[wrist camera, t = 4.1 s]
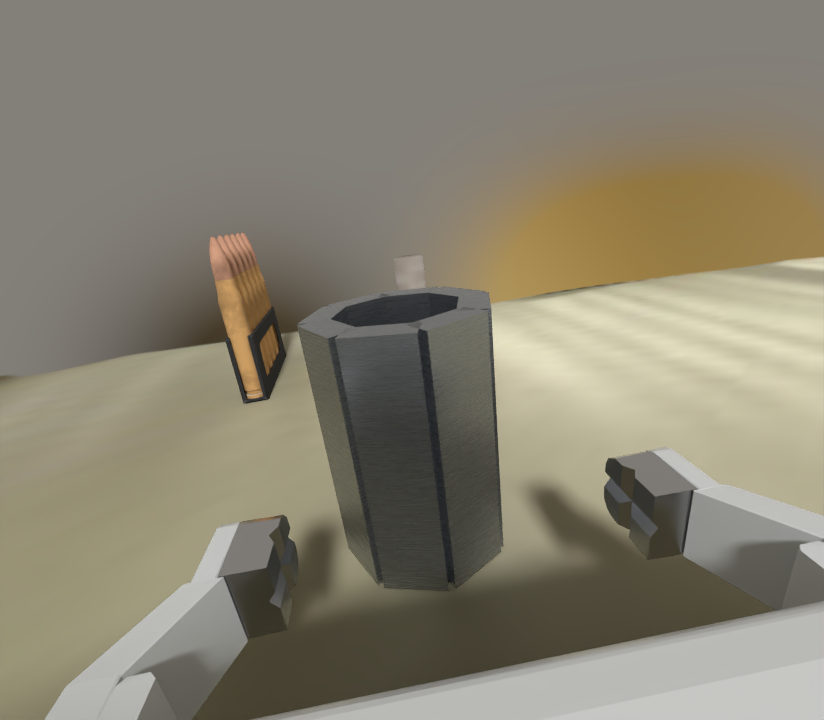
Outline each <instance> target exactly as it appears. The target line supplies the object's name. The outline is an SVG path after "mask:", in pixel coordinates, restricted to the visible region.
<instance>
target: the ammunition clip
mask: <svg viewBox="0 0 824 720" xmlns="http://www.w3.org/2000/svg"><path fill="white" fill-rule="evenodd" d="M209 248H210V260H211V265H212V271H213V274H214V278H215V283H216V288H217V292H218V302H219V307H220V310H221V313H222V317H223V320H224V323H225V327H226V331H227V334H228V337H227V338H226V344H227V348H228V351H229V354H230V358H231V361H232V365H233V368H234V372H235V375H236V379H237V382H238V385H239V389H240V392H241V396H242V399H243V403H249V402H255V401H260V400H266V399H269V398H270V395H271V392H272V390H273V387H274V385H275V382H276V380H277V377H278V375H279V372H280V370H281V367H282V365H283V362H284V359H285V357H286V353H285V349H284V346H283V342H282V338H281V334H280V330H279V327H278V323H277V319H276V315H275V311H274V307H271V304H270V301H269V297H268V293H267V289H266V285H265V281H264V279H263V277H262V275H261V272H260V269H259V266H258V264H257V260H256V256H255V253H254V251H253V248H252V246H251V244H250V242H249V240H248V238H247V237H246V235H245V234H244V233H241V235H240V234H239V233H237V234H236V237H235V235H234V234H231V236H230V237H229V236H228V235H225V236H224V238H223V237H222V236H221V235H219V236H218V240H216V238H215V237H213V236H212V237H211V238H210V245H209Z"/></svg>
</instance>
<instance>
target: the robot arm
mask: <svg viewBox="0 0 824 720" xmlns="http://www.w3.org/2000/svg"><path fill="white" fill-rule="evenodd" d="M605 472H606V473H607V474H608V476H609V477H610V479H609V481H608V482H607V484H606V485H605V486H604V499H605V502H606V506H607V509H608V511H609V512H610V514H611V516H612V517H613V519H614V520H615V521H616V522H617V524H619V525H621V526H623V527H625V528H627V529H629V530H630V532H629V538H630V539H631V541H632V542H633V543H634V544H635V545H636V547H637V548H638V549H639V550H640V551H641V553H642V554H643V555H644V556H645V557H646V559H647V560H650V559H657V558H663V557H669V556H675V555H681V554H683V556H684V557H686V558H687V559H689V560H691V561H692V562H694V563H696V564H697V565H699V566H701V567H703V568H704V569H706V570H708V571H709V572H711V573H713V574H715V575H716V576H718V577H720V578H721V579H723V580H725V581H726V582H728V583H730V584H732V585H733V586H735V587H737V588H738V589H740V590H742V591H743V592H745V593H747V594H749V595H750V596H752V597H754V598H755V599H757V600H759V601H761V602H762V603H764V604H766V605H767V606H769V607H771V608H772V609H774V610H776V611H772V612H767V613H762V614H757V615H752V616H748V617H743V618H738V619H733V620H728V621H723V622H719V623H714V624H709V625H704V626H699V627H694V628H690V629H685V630H680V631H675V632H670V633H666V634H661V635H656V636H651V637H646V638H641V639H637V640H632V641H627V642H622V643H617V644H612V645H608V646H603V647H598V648H593V649H588V650H584V651H579V652H574V653H569V654H564V655H560V656H555V657H550V658H545V659H540V660H536V661H531V662H526V663H521V664H516V665H511V666H507V667H502V668H497V669H492V670H487V671H483V672H478V673H473V674H468V675H463V676H459V677H454V678H449V679H444V680H439V681H434V682H430V683H425V684H420V685H415V686H410V687H405V688H400V689H396V690H391V691H386V692H381V693H376V694H371V695H367V696H362V697H357V698H352V699H347V700H342V701H338V702H333V703H328V704H323V705H318V706H313V707H309V708H304V709H299V710H294V711H289V712H285V713H280V714H275V715H270V716H265V717H261V718H256V719H251V720H824V516H822V515H819V514H816V513H813V512H810V511H807V510H804V509H801V508H798V507H795V506H792V505H789V504H786V503H783V502H780V501H777V500H774V499H770V498H767V497H764V496H761V495H758V494H755V493H752V492H749V491H746V490H743V489H740V488H737V487H734V486H731V485H728V484H726V485H720V484H718V483H717V482H716V481H714V480H713V479H712V478H710V477H709V476H708V475H706V474H705V473H704V472H702V471H701V470H700V469H698V468H697V467H696V466H694V465H693V464H692V463H690V462H689V461H687V460H686V459H685V458H683V457H682V456H681V455H679V454H678V453H677V452H675V451H674V450H673V449H671V448H667V447H663V448H658V449H653V450H648V451H646V452H640V453H634V454H629V455H623V456H618V457H612V458H608V460H607V462H606V469H605ZM289 531H290V526H289V523H288V520H287V517H286V516H284V515H280V516H274V517H267V518H261V519H254V520H247V521H242V522H236V523H230V524H224V525H221V526H219V527H218V528H217V529H216V531H215V533H214V535H213V537H212V539H211V541H210V543H209V545H208V548H207V550H206V552H205V554H204V556H203V558H202V560H201V562H200V564H199V566H198V568H197V570H196V572H195V574H194V577H193V579H192V581H191V583H187V584H183V585H182V586H181V587H180V588H179V589H177V590H176V591H175V592H174V593H173V594H172V595H171V596H169V597H168V598H167V599H166V600H165V601H164V602H162V603H161V604H160V605H159V606H158V607H157V608H156V609H154V610H153V611H152V612H151V613H150V614H149V615H147V616H146V617H145V618H144V619H143V620H142V621H141V622H139V623H138V624H137V625H136V626H135V627H134V628H133V629H131V630H130V631H129V632H128V633H127V634H126V635H124V636H123V637H122V638H121V639H120V640H119V641H118V642H116V643H115V644H114V645H113V646H112V647H111V648H110V649H108V650H107V651H106V652H105V653H104V654H103V655H101V656H100V657H99V658H98V659H97V660H96V661H95V662H93V663H92V664H91V665H90V666H89V667H88V668H86V669H85V670H84V671H83V672H82V673H81V674H80V675H78V676H77V677H76V678H75V679H74V680H73V681H72V682H70V683H69V684H68V685H67V686H66V687H65V689H64V690H63V692H62V693H61V695H60V696H59V698H58V699H57V701H56V703H55V704H54V706H53V707H52V709H51V710H50V712H49V713H48V715H47V717H46V718H45V720H192V719H193V717H194V716H195V714H196V713H197V712H198V710H199V709H200V708H201V706H202V705H203V703H204V702H205V701H206V699H207V698H208V696H209V695H210V694H211V692H212V691H213V689H214V688H215V687H216V685H217V684H218V682H219V681H220V680H221V678H222V677H223V675H224V674H225V673H226V671H227V670H228V668H229V667H230V666H231V664H232V663H233V662H234V660H235V659H236V657H237V656H238V655H239V653H240V652H241V650H242V649H243V648H244V646H245V645H246V643H247V642H248V639H249V638H253V637H258V636H262V635H267V634H271V633H276V632H280V631H284V630H287V628H288V623H289V618H290V613H291V608H292V603H293V601H292V598H291V595H290V591H291V590H292V588H293V587H294V586H295V585H296V581H297V575H298V557H297V550H296V546H295V543H294V542H293V541H292V540H291V539H289V538H288V535H289Z"/></svg>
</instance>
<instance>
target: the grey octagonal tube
mask: <svg viewBox="0 0 824 720" xmlns="http://www.w3.org/2000/svg"><path fill="white" fill-rule="evenodd" d="M297 327H298V331H299V336H300V340H301V344H302V349H303V353H304V357H305V362H306V366H307V370H308V375H309V379H310V383H311V387H312V392H313V396H314V400H315V405H316V409H317V413H318V418H319V422H320V426H321V431H322V435H323V439H324V444H325V448H326V452H327V456H328V461H329V465H330V469H331V474H332V478H333V482H334V487H335V491H336V495H337V500H338V504H339V508H340V513H341V517H342V521H343V526H344V530H345V534H346V538H347V543H348V547H349V549H350V550H351V551H352V552H353V554H354V555H355V556H356V558H357V559H358V560H359V561H360V563H361V564H362V565H363V566H364V568H365V569H366V570H367V571H368V573H369V574H370V575H371V576H372V578H373V579H374V580H375V581H376V583H377V584H378V585H379V584H380V583H382V582H383V583H384V588H400V589H422V590H443V591H449V582H450V583H451V584H452V585H453V586H454V587H455V588H457V587H458V586H460V585H461V584H462V583H463V582H464V581H466V580H467V579H468V578H469V577H471V576H472V575H473V574H474V573H475V572H477V571H478V570H479V569H480V568H482V567H483V566H484V565H485V564H486V563H488V562H489V561H490V560H491V559H493V558H494V557H495V556H496V555H497V554H499V553H500V552H501V546H503V532H502V513H501V493H500V474H499V454H498V434H497V415H496V395H495V376H494V356H493V336H492V317H491V305H490V298H489V293H488V292H487V293H485V291H479V290H470V289H461V288H452V287H441V288H438V287H429V288H418V289H407V290H397V291H386V292H383V293H382V294H381V293H374V294H370V295H366V296H362V297H358V298H354V299H350V300H346V301H342V302H338V303H334V304H331V305H327V307H322V308H320V309H319V310H317V311H316V312H315V313H313V314H311V315H310V316H308V317H307V318H305V319H304V320H303V321H301V322H300V323H298V326H297Z"/></svg>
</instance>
